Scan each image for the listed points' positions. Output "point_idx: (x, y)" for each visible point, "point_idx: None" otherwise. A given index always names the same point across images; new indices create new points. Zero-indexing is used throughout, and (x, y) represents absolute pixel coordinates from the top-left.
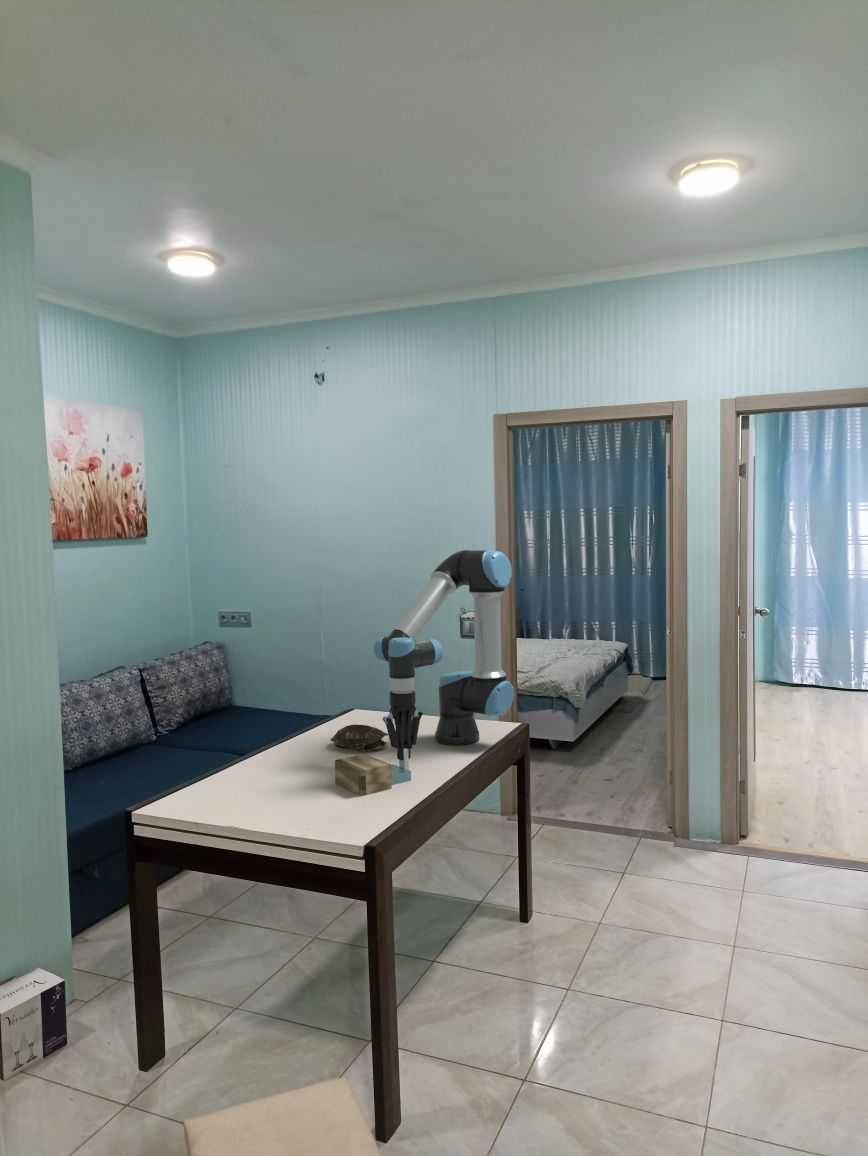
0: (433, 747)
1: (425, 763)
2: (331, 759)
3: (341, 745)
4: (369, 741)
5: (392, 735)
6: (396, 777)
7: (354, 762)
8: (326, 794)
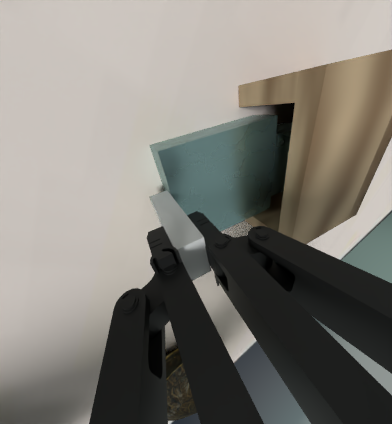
0: (8, 412)
1: (54, 303)
2: None
3: None
4: (183, 368)
5: (375, 281)
6: (218, 130)
7: (358, 174)
8: None
